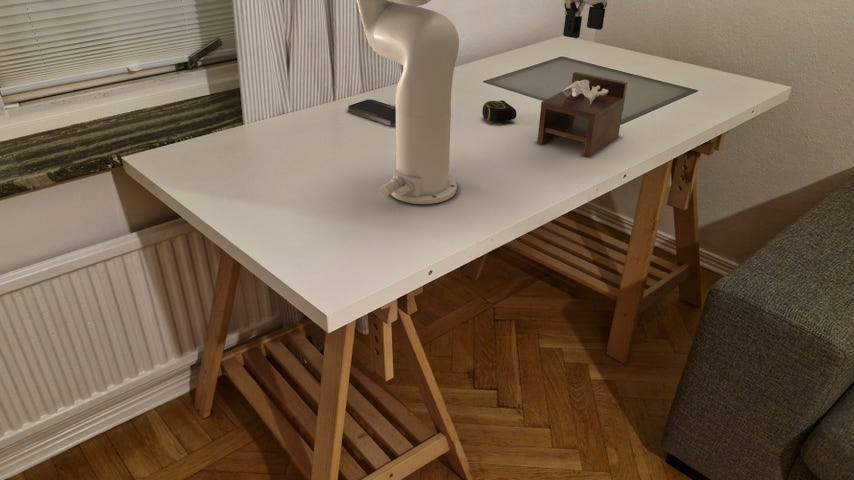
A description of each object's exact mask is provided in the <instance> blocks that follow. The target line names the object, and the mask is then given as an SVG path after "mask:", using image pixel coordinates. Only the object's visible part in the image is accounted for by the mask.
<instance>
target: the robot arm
mask: <svg viewBox="0 0 854 480" xmlns="http://www.w3.org/2000/svg"><path fill="white" fill-rule="evenodd" d="M431 1H432V0H356V4H357V8H358V12H359V15H360V19H361V23H362V26H363V30H364V34H365V37H366V39H367V42H368V45H370V48H371V49H372V50H373V51H374V52H375V53H376V54H377V55H379V56H381V57H382V58H384V59H386V60H390V61H392V62H395V63H397V64H399V65H401V66H402V71H401V76H400V78H399V80H398V83H397V85H396V89H395V99H394V100H395V101H394V102H395V105H394V106H395V108H396V125H395V154H396V156H395V159H396V160H395V161H396V162H395V163H396V164H395V165H396V166H395V167H396V169H395V170H394V171H393V172H392V173H393V174H392V175H393V177H391V178H390V180H389V181H388V182H387V183H385V184H383V185H381V186H380V188H379V192H380V193H381V194H382V196H383V197H388V196H390V195H391V196H392V197H393V198H395V199H396V200H399V201H400V202H404V203H408V204H413V205H432V204H437V203H442V202H445V201H448V200H450V199H451V198H453V196H455V194H456V193H457V192H458V191H457V190H458V184H457V181H456V180H455V179H454V178H453V177H452V176H450V150H451V119H452V118H451V117H452V115H451V114H452V87H453V77H454V73H455V67H456V62H457V59H458V54H459V49H460V38H459V33H458V30H457V28H456V26H455V24H454V23H453V22H452V21H451V20H450V18H449V17H447V16H445V15H443V13H440V12H438V11H435V10H431V9H429V8H426V7H421V6H424V5H426V4H428V3H429V2H431ZM563 5H564V9H565V10H564V15H565V17H564V26H563V33H562V35H563V37H566V38H571V39H579V38H580V35H581V27H582V21H583V16H582V12H583V10H584V8H585V5H588V6H589V8H588V14H587V22H586V28H587V29H592V30H598V31H600V30H601V31H602V29H603V28H604V27H603V26H604V21H605V15H606V8H607V6H608V0H564V4H563ZM577 5H578V6H577Z"/></svg>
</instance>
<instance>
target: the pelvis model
mask: <svg viewBox="0 0 854 480" xmlns="http://www.w3.org/2000/svg"><path fill="white" fill-rule="evenodd" d="M598 89H600V86H599V85H598V86H597V87H593V86H592V90H591V91H590V88H589V81H588V80H582V81H576V82H574V83H573V84H572V83H571V85H568V87H566V88H564V89H563V90H562V91H563V92H564V94H565V95H566V96H567V97H569V96H570V95H571V94H572V95H573V96H574V97H576V96H578V95H580V94H583V95H584V97H587V98H589V100H590V104H592V102H593V100H594V99H595V97H598V96H603V95H606V94H607V93H608V90H605V89H602V91H601V92H598V91H597V90H598Z"/></svg>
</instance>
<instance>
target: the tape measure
mask: <svg viewBox="0 0 854 480" xmlns="http://www.w3.org/2000/svg"><path fill="white" fill-rule="evenodd" d="M481 114H482V117H483V119H485V120H486V121H488V122H491V123H493V124H494V123H506V122H508V121H513V120H515V119H516V118H517V114H518V113H517V110H516V108H514V107H513V106H512V105H510V104H509V103H507V102H506V101H505V100H503V99H502V100H488V101H486V102H485V103H484V104H483V105H482V112H481Z"/></svg>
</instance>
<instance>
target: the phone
mask: <svg viewBox="0 0 854 480" xmlns="http://www.w3.org/2000/svg"><path fill="white" fill-rule="evenodd" d="M347 112H348V113H351V114H354V115H355V116H356V115H357V116H360V117H363V118H365V119H368V120H372V121H375V122H377V123H380V124H383V125H386V126H390V127H396V108H395V105H391V104H388V103H385V102H382V101H378V100H376V99H371V98H368V99H365V100H361V101H359V102H355V103H352V104H349V105H348V107H347Z"/></svg>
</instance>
